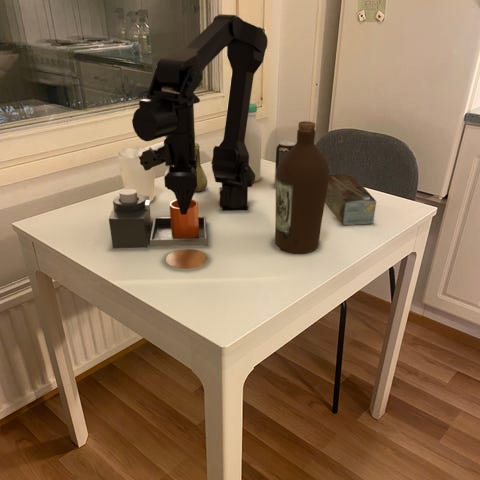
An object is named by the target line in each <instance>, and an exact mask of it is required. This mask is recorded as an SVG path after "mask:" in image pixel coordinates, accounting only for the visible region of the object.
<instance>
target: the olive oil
mask: <svg viewBox="0 0 480 480" xmlns="http://www.w3.org/2000/svg"><path fill="white" fill-rule="evenodd" d="M315 129H316V123H315V122H313V121H309V120H308V121H307V120H303V121H299V122H298V129H297V131H296V144H295V145H294V146H293V147H292V148H291V149H290V150H289V151H288V152H287V153H286V154H285V155H284V156H283V157H282V159H281V160H280V162H279V164H278V167H277V170H276V185H275V219H274V221H275V223H274V224H275V225H274V227H275V229H274V244H275V246H276V247H277V248H279V250H281V251H283V252H286V253H290V254H300V255H301V254H308V253H312V252H314V251H315V250H317V249H318V248H319V243H320V238H321V237H320V236H321V231H322V223H323V217H324V210H325V205H326V201H325V200H326V194H327V188H328V183H329V175H330V166H329V164H328V161H327V159H326V158H325V156H324V155H323V154H322V153H321V151H320V150H319V149H318V148H317V146H316V143H315V137H316V130H315Z"/></svg>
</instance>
